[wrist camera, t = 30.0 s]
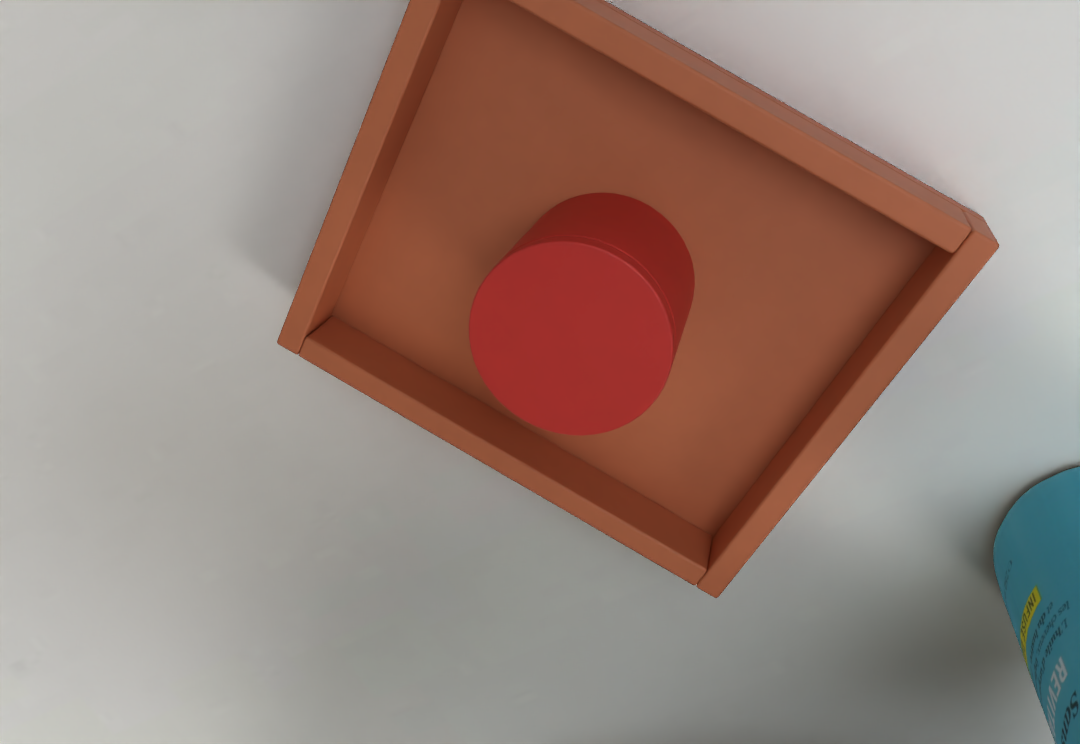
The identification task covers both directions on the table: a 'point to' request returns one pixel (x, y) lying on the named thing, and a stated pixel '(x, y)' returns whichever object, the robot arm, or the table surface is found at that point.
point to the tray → (695, 212)
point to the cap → (584, 315)
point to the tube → (1046, 593)
